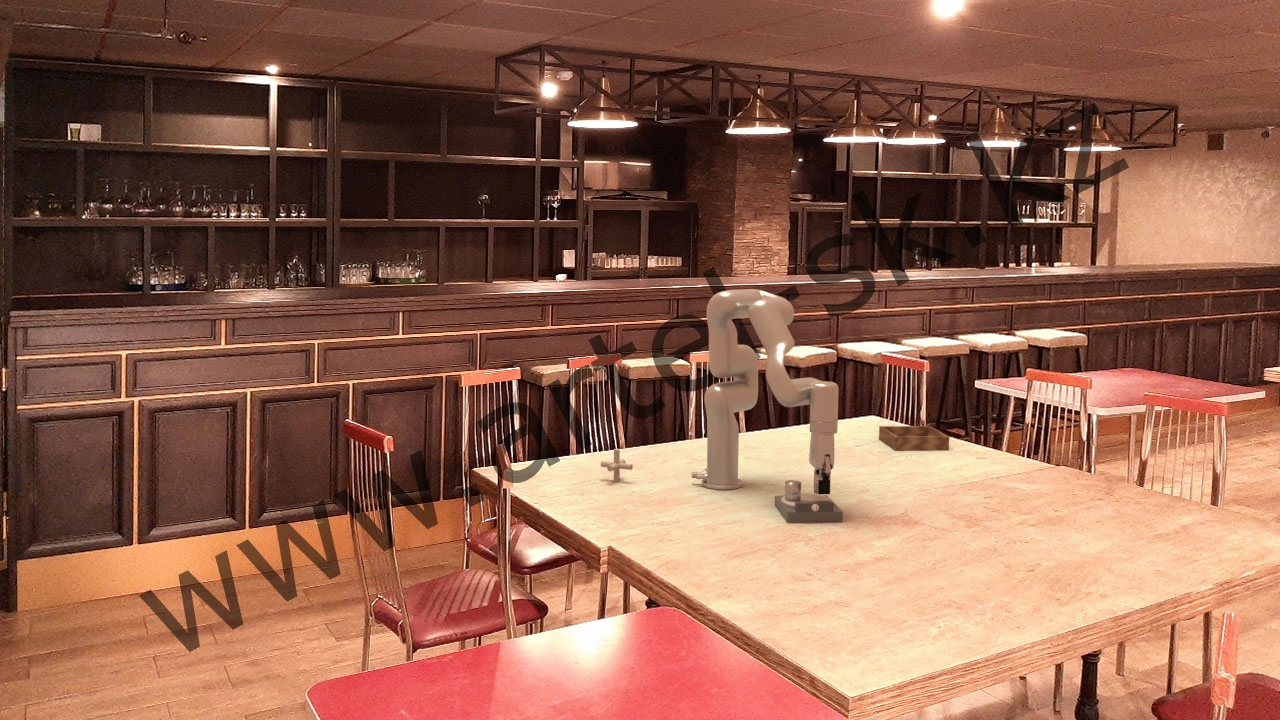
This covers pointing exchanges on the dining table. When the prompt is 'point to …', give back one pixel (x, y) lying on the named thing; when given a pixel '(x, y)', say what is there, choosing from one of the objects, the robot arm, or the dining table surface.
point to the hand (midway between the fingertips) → (821, 491)
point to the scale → (809, 509)
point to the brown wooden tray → (913, 438)
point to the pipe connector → (616, 465)
